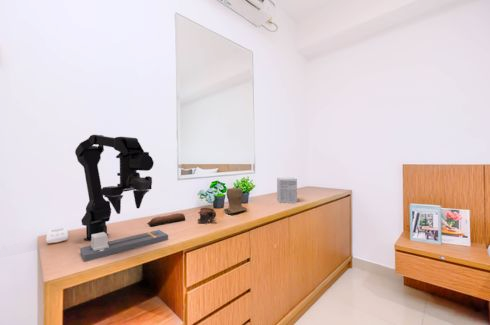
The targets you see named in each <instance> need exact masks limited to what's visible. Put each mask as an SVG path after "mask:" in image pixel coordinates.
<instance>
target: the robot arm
mask: <svg viewBox="0 0 490 325" xmlns="http://www.w3.org/2000/svg"><path fill="white" fill-rule="evenodd" d="M104 147H107V148H108V147H109V148H113V149H114V150H115V151H117V152H119V153H118V154H117V155H116V156H115V158H116V159H119V172H117V173H116V174H117V177H118V176H119V183H117V184H116V185H112V186H110V185H109V186H103V187H102V182H101V178H100V177H101V176H100V172H99V166H98V164H99V162H100V161H101V160H102V159H101V158H102V157H101V156H102V154H103V152H104V151H105V149H104ZM74 152H75V153H74V154H75V156H76V158H77V162H78V163H79V164H80V165H81V166H82V167H83V172H84V176H85V182H86V188H87V194H88V200H89V201H88V203H87V205H86V207H85V214H84V216H83V217H82V218H81V225H82V226H86V230H85V232H86V237H85V238H84V239H83V240H84V241H91V235H92V234H97V233H102V232H105V233H106V234H107V236H109V233H108V226H107V225H106V224H107V223H106V222H109V221H110V219H111V214H112V208H111V206H112V207H113V209H114V211H115V212H116V214H117V215H120V214H121V207H122V205H121V204H122V203H121V201H122V199H123V197H124V195H122V194H123V193H124V192H129V191H132V194H133V197H134V202H135V207H136V209H140V208H141V205H142V202H143V199H144V196H145V195H146V194H147V193H149V191H150V190H152V185H153V177H152V176H149V175H148V176H145V177H141V174H140V172H137V171H146V172H147V171H150V170H152V169H153V167H154V160H153V157H152V156H151V155H150V152H149V151H144V149H143V147H142V146H141V144H140V142H139V139H138V138H136V137H129V136H116V137H112V136H111V137H110V136H106V135H103V134H92V135H91V134H90V135H89V137H88V138H87V139H85V140H83V141H81V142H80V143H79V144H78V146H77V147H76V148H75V151H74ZM105 198H107V200H106V199H105Z"/></svg>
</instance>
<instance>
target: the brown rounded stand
mask: <svg viewBox="0 0 490 325" xmlns="http://www.w3.org/2000/svg"><path fill="white" fill-rule="evenodd" d="M243 197H244V196H243V188H241V187H230V188H227V189H226V198H227V201H228V206H227V207H226V208H224V209H223V212H224V213H225V214H227V215H232V214H236V213H237V214H238V213H241V212H244V211H246V210H248V208H247V207H244V206H243V205H242V202H243Z"/></svg>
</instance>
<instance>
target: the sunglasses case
mask: <svg viewBox="0 0 490 325" xmlns="http://www.w3.org/2000/svg"><path fill="white" fill-rule="evenodd" d="M178 221H186V216H185V214H184V213H178V212H177V213H172V214H168V215H163V216H156V217H153V218H151V220H150V221H148V222H147V223H146V224H147V225H148V226H149V227H154V226H157V225H162V224H164V223H171V222H172V223H173V222H178Z"/></svg>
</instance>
